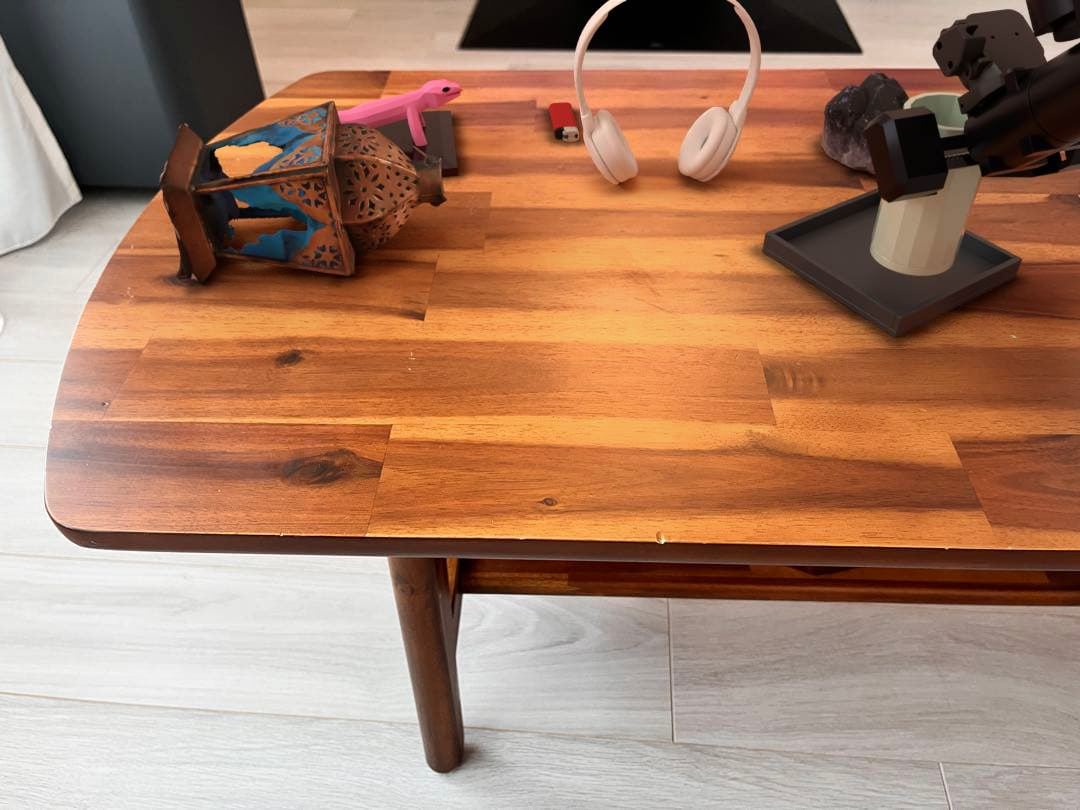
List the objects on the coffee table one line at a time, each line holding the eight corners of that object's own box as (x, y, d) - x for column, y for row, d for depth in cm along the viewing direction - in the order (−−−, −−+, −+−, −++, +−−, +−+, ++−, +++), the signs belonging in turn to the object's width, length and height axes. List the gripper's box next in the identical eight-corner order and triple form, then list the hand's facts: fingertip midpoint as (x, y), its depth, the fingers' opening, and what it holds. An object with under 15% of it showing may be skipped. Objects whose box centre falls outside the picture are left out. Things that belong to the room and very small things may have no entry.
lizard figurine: (471, 174, 98) (467, 109, 93) (285, 187, 96) (271, 122, 91) (463, 117, 109) (459, 56, 104) (296, 127, 107) (283, 66, 102)
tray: (1015, 278, 82) (1023, 258, 81) (894, 338, 76) (901, 318, 75) (878, 203, 93) (883, 185, 91) (761, 251, 86) (765, 232, 85)
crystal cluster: (927, 136, 105) (943, 48, 99) (953, 182, 95) (973, 87, 89) (809, 138, 107) (818, 52, 101) (821, 184, 97) (832, 91, 91)
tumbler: (958, 280, 75) (1006, 133, 66) (870, 271, 76) (907, 126, 68) (950, 236, 80) (994, 94, 71) (868, 229, 81) (902, 89, 73)
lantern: (212, 315, 90) (460, 283, 91) (149, 272, 74) (451, 234, 75) (196, 160, 92) (439, 131, 93) (131, 86, 76) (426, 51, 77)
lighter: (572, 102, 109) (579, 131, 103) (571, 111, 110) (579, 141, 104) (548, 103, 109) (555, 132, 103) (548, 113, 109) (555, 142, 103)
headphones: (569, 165, 99) (572, -26, 86) (734, 160, 100) (762, -31, 86) (574, 198, 94) (578, -1, 81) (748, 192, 95) (780, -6, 81)
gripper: (1150, -31, 62) (993, 69, 77) (915, -1, 58) (799, 98, 73) (1189, 126, 61) (1023, 195, 77) (955, 166, 58) (830, 231, 73)
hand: (921, 176), depth 75 cm, fingers closed on tumbler, 7 cm apart
